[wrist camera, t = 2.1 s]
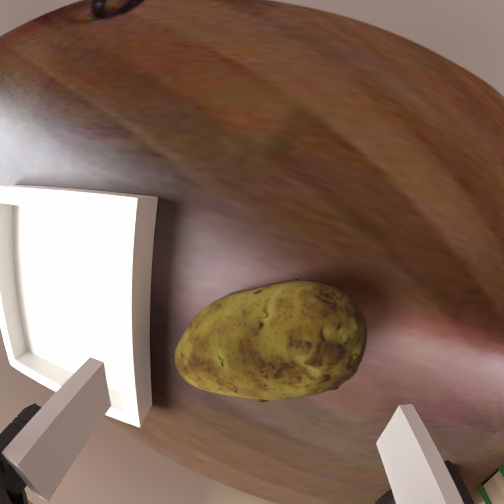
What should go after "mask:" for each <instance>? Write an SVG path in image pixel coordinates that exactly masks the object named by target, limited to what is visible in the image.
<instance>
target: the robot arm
mask: <svg viewBox="0 0 504 504" xmlns="http://www.w3.org/2000/svg"><path fill="white" fill-rule="evenodd" d="M110 407H111V401H110V396H109V390H108V385H107V379H106V372H105V366H104V362H102V361H99V360H96V359H94V358H91V357H90V358H89V359H88V360H87V361H86V362H85V363H84V364H83V365H82V366H81V367H80V368H79V369H78V370H77V371H76V372H75V373H74V374H73V375H72V376H71V377H70V378H69V379H68V380H67V381H66V382H65V383H64V384H63V385H62V386H61V388H60V389H59V390H58V391H57V392H56V393H55V394H54V395H53V396H52V397H51V398H50V399H49V400H48V401H47V402H46V404H45V405H44V406H43V407H40V406H38V405H37V404H32V405H30V406H28V407H26V408H25V409H23V410H22V412H21V413H20V414H19V415H18V417H16V418H15V419H14V420H13V421H12V423H10V424H9V425H8V426H7V427H6V428H5V429H4V431H3V432H2V433H1V434H0V504H28V500H27V496H26V492H25V490H24V488H25V487H26V486H28V487H29V488H30V490H31V491H32V492H33V493H35V494H36V495H38V496H39V497H41V498H42V499H44V500H46V501H47V502H48V501H49V500H50V498H51V497H52V495H53V493H54V492H55V490H56V488H57V487H58V485H59V484H60V482H61V481H62V479H63V477H64V476H65V474H66V473H67V471H68V470H69V468H70V467H71V465H72V464H73V462H74V461H75V459H76V457H77V456H78V454H79V453H80V451H81V450H82V448H83V447H84V445H85V444H86V442H87V440H88V439H89V438H90V436H91V434H92V433H93V432H94V430H95V429H96V427H97V426H98V424H99V423H100V421H101V420H102V418H103V417H104V415H105V414H106V413H107V411H108V410H109V408H110ZM376 445H377V447H378V450H379V453H380V456H381V459H382V462H383V465H384V468H385V471H386V474H387V477H388V480H389V483H390V486H391V489H392V490H391V491H389V492H388V493H386V494H385V495H384V496H382V497H381V498H380V499H379V500H378V501H377V502H376V503H375V504H474V502H473V500H472V498H471V495H470V493H469V491H468V489H467V487H466V485H465V484H464V483H463V482H464V481H463V479H462V478H461V477H460V474H459V472H458V470H457V468H456V466H454V465H453V464H452V463H451V462H450V461H449V460H447V461H443V460H442V458H441V456H440V454H439V452H438V450H437V448H436V446H435V444H434V442H433V441H432V439H431V437H430V435H429V433H428V431H427V430H426V428H425V426H424V424H423V422H422V421H421V419H420V417H419V415H418V413H417V412H416V410H415V408H414V406H413V405H412V404H408V405H399V406H398V408H397V410H396V411H395V413H394V415H393V417H392V418H391V420H390V422H389V423H388V425H387V427H386V428H385V430H384V432H383V433H382V435H381V436H380V438H379V439H378V441H377V442H376Z"/></svg>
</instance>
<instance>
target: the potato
mask: <svg viewBox="0 0 504 504" xmlns="http://www.w3.org/2000/svg"><path fill="white" fill-rule="evenodd" d="M366 339H367V327H366V321H365V318H364V315H363V313H362V311H361V309H360V308H359V306H358V305H357V304H356V303H355V302H354V301H353V300H352V299H351V298H350V297H348V296H347V295H346V294H344V293H343V292H342V291H341V290H340V289H338V288H335V287H332V286H329V285H326V284H322V283H318V282H314V281H304V280H297V279H294V280H291V281H288V282H281V283H275V284H270V285H266V286H262V287H259V288H255V289H248V290H242V291H237V292H233V293H231V294H229V295H226V296H224V297H223V298H221V299H219V300H217V301H215V302H213V303H212V304H210V305H208V306H207V307H206V308H204V309H203V310H202V311H201V312H199V313H198V314H197V315H196V316H195V317H194V318H193V320H192V321H191V322H190V324H189V325H188V327H187V329H186V330H185V332H184V334H183V336H182V337H181V339H180V341H179V343H178V345H177V347H176V350H175V356H174V359H175V365H176V367H177V369H178V371H179V373H180V374H181V376H182V377H183V378H184V379H185V380H186V381H187V382H188V383H190V384H191V385H193V386H195V387H197V388H199V389H202V390H205V391H208V392H212V393H217V394H222V395H227V396H236V397H243V398H251V399H256V400H257V401H259V402H260V401H261V402H266V401H269V400H270V401H281V400H286V399H290V398H292V397H301V396H309V395H314V394H319V393H322V392H325V391H328V390H335V389H338V387H339V386H340V385H341V384H342V383H344V382H345V381H346V380H349V379H350V378H351V377H352V376H353V375H354V374H355V373H356V372H357V369H358V366H359V364H360V362H361V360H362V358H363V355H364V351H365V347H366Z"/></svg>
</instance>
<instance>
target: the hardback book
mask: <svg viewBox="0 0 504 504" xmlns="http://www.w3.org/2000/svg"><path fill="white" fill-rule="evenodd" d="M498 469H499V471H498V472H497V473H496V474H495V475H494V476H493V477H492V478H491V479H489V480H488V481H487V482H486V483H485V484H480V485H479V486H478V489H479V491H480V493H481V495H482V497H483V499H484V501H485V503H486V504H504V465H501V466H500V467H499V468H498Z"/></svg>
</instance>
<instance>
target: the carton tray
mask: <svg viewBox="0 0 504 504" xmlns="http://www.w3.org/2000/svg"><path fill="white" fill-rule="evenodd" d="M157 203H158V197H153V196H145V195H136V194H126V193H116V192H106V191H96V190H84V189H72V188H59V187H45V186H28V185H0V328H1V332H2V336H3V340H4V344H5V348H6V351H7V355H8V359H9V362H10V365H11V366H13V367H14V368H16V369H17V370H19V371H20V372H22V373H24V374H25V375H27V376H29V377H30V378H32V379H34V380H35V381H37V382H39V383H41V384H43V385H44V386H46V387H48V388H50V389H52V390H53V391H55V392H57V391H58V390H59V389H60V388H61V386H62V385H63V384H64V383H65V382H66V381H67V380H68V379H69V378H70V377H71V376H72V375H73V374H74V373H75V372H76V371H77V370H78V369H79V368H80V367H81V366H82V365H83V364H84V363H85V362H86V361H87V360H88V359H89V358H90V357H91V358H94V359H96V360H99V361H102V362H104V366H105V372H106V379H107V385H108V390H109V396H110V401H111V407H110V408H109V410H108V411H107V413H106V414H105V415H107V416H110V417H113V418H115V419H118V420H120V421H123V422H126V423H129V424H132V425H134V426H137V427H141V425H142V423H143V421H144V420H145V418H146V416H147V414H148V412H149V410H150V408H151V407H152V392H151V371H150V294H151V272H152V256H153V243H154V232H155V221H156V212H157Z"/></svg>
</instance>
